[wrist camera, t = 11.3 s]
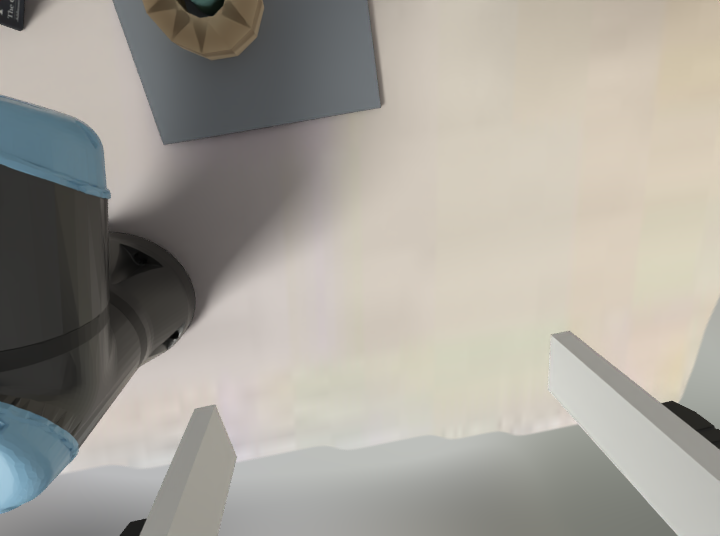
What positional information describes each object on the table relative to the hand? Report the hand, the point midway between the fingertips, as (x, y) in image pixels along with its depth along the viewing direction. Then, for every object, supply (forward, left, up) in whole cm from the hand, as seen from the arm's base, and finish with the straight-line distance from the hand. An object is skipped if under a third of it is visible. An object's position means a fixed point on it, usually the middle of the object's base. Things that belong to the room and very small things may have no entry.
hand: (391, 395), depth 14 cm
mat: (-5, +20, -29) cm, 35 cm away
